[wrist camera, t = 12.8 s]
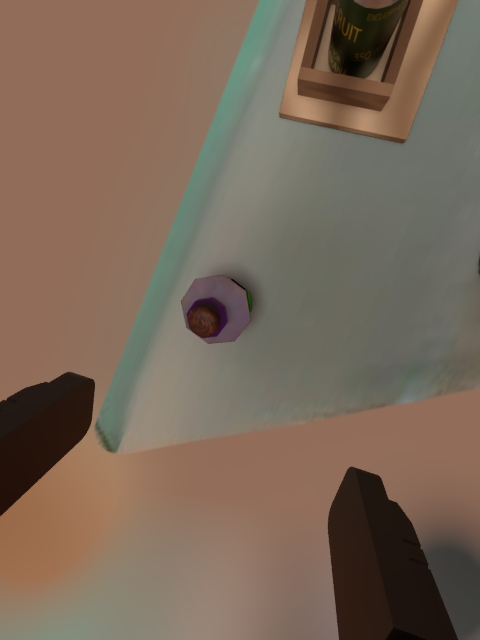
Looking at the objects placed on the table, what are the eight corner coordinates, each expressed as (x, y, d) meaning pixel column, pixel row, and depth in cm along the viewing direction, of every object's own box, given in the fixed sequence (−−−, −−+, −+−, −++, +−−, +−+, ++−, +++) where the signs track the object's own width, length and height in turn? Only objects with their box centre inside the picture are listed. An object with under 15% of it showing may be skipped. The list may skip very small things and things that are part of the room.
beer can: (366, 6, 29) (409, -139, 18) (392, 57, 30) (451, -52, 18) (317, 49, 31) (328, -60, 19) (343, 96, 31) (370, 18, 20)
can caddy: (457, -6, 29) (486, -51, 24) (402, 143, 33) (419, 128, 28) (315, -28, 30) (318, -74, 26) (279, 117, 34) (277, 99, 30)
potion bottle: (270, 310, 40) (260, 339, 29) (219, 338, 43) (191, 375, 32) (237, 255, 39) (213, 263, 28) (187, 287, 42) (146, 307, 30)
